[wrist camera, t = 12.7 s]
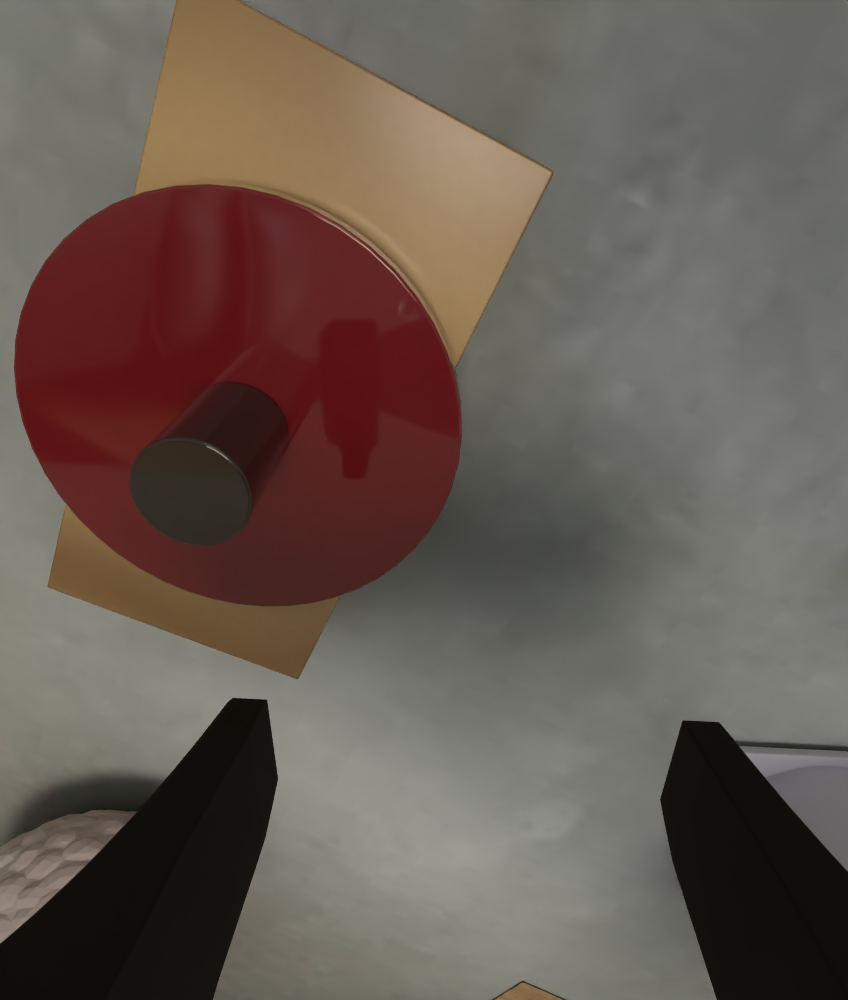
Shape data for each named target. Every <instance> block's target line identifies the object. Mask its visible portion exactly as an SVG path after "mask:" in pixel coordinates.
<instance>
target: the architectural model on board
mask: <svg viewBox="0 0 848 1000" xmlns="http://www.w3.org/2000/svg"><path fill="white" fill-rule="evenodd" d="M495 1000H562V999H560V998H558V997H556V996H553V995H551V994H549V993H546V992H544V991H542V990H540V989H537V988H535V987H533V986H530V985H528V984H526V983H524V982H522V983H520V984H519V985H517V986H516V987H514V988H512V989H511V990H509V991H508V992H506V993H504V994H503V995H501V996H500V997H498V998H496V999H495Z"/></svg>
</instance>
